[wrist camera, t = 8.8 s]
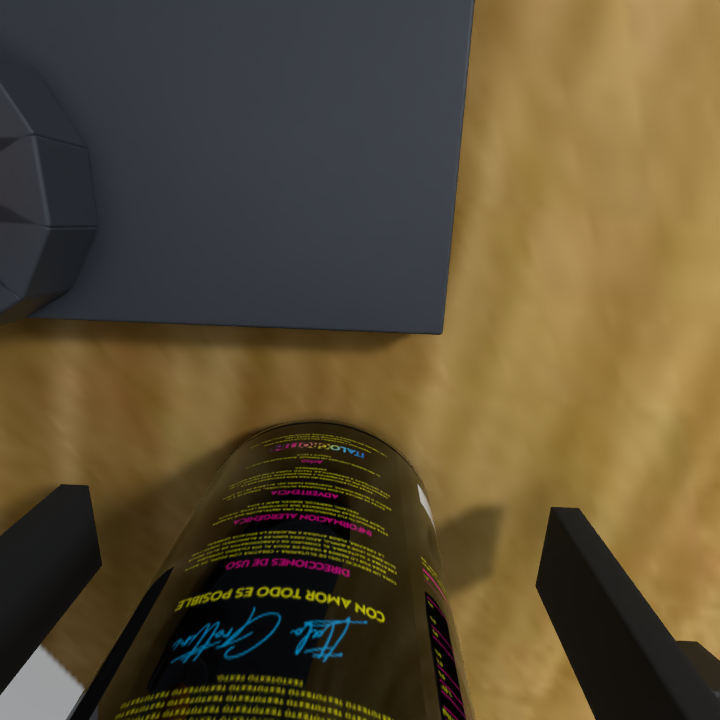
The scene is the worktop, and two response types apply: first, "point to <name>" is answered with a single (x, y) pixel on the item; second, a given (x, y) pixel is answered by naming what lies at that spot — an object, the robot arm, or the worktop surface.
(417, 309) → the kitchen scale
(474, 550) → the worktop surface
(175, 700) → the supplement container
